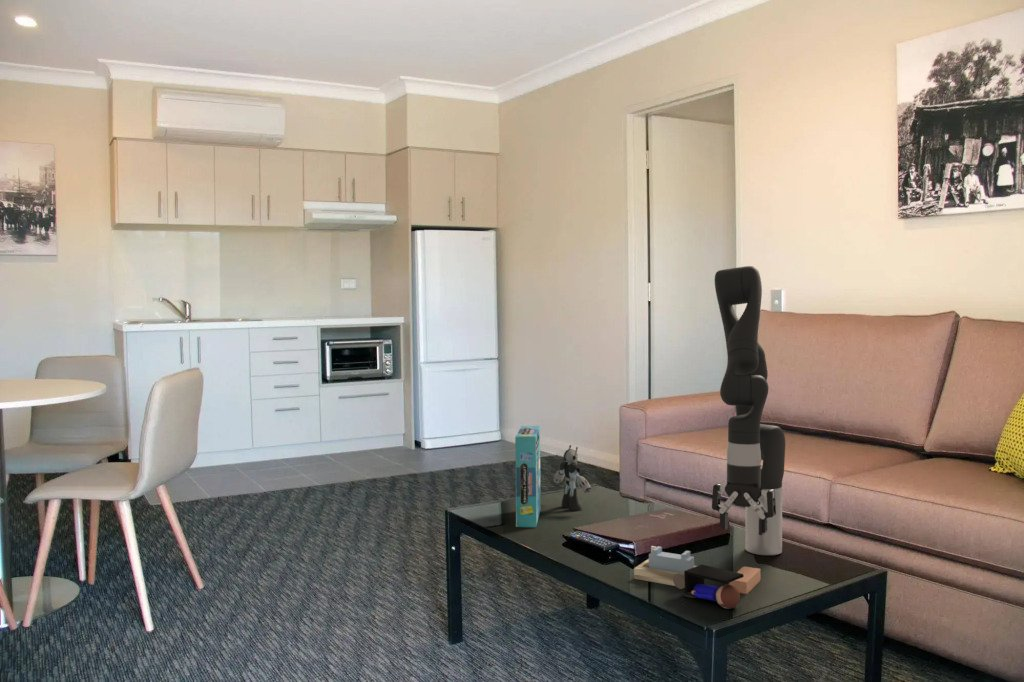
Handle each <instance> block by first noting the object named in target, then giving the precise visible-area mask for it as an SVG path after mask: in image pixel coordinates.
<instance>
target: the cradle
mask: <svg viewBox="0 0 1024 682" xmlns="http://www.w3.org/2000/svg"><path fill="white" fill-rule="evenodd" d="M696 566H697V565H694V567H696ZM633 573H634V574H633V578H634V579H635V580H640V581H645V582H649V583H650V582H651V583H657V584H661V585H668V586H673V587H676V586H675V584H674V582H673V576H674V575H675V574H677V573H676V572H670V571H664V570H658V569H652V568H649V558H647V559H646V560H644V561H642V562H641V563H640V564H638V565H637V566H635V567H634V568H633Z"/></svg>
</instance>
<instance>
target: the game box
mask: <svg viewBox="0 0 1024 682" xmlns="http://www.w3.org/2000/svg"><path fill="white" fill-rule="evenodd" d="M540 427H541V426H539V425H522V426H520V428H519V430H518V432H517V434H515V435H516V436H515V439H514V440H515V445H514V446H515V447H514V448H515V527H516V528H537V525H538V522H539V518H540V513H541V511H542V509H541V508H542V504H541V503H542V501H541V500H542V499H541V498H542V495H541V494H542V493H541V489H542V488H541V487H542V486H541V485H542V483H541V428H540Z"/></svg>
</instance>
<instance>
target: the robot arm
mask: <svg viewBox="0 0 1024 682" xmlns="http://www.w3.org/2000/svg"><path fill="white" fill-rule="evenodd" d="M762 287H763V286H762V280H761V275H760V271H759V269H758V268H757V266H754V265H749V266H748V265H747V266H739V267H733V268H731V267H730V268H725V269H720V270H717V271H716V272H715V275H714V288H715V294H716V299H717V304H718V308H719V313H720V317H721V322H722V326H723V332H724V337H725V338H724V339H725V344H726V351H727V353H726V354H727V362H726V363H727V364H726V369H725V373H724V376H723V378H722V382H721V385H720V389H719V392H720V395H719V396H720V397H721V400H722V402H723V403H724V404H726V405H728V406H734V407H735V413H736V414H735V416H731V417H730V418H729V420H728V425H727V426H728V427H727V431H728V432H727V434H728V435H727V449H726V485H725V484H722V483H720V482H718V483H715V484H713V485H712V499H711V509H712V510H713V511H717V512H718V513H719V526H720V527H721V529H722V531H723V530H724V531H725V530H728V528H729V512H728V510H729V509H730V508H731V507H732V506H734V505H735V506H737V507H740V506H743V507H745V536H744V537H745V539H744V540H745V542H744V543H745V551H746V552H748V553H750V554H753V555H759V556H776V555H779V554H782V552H783V479H784V474H785V461H786V459H785V457H786V436H785V433H784V431H783V429H782V428H781V427H780V426H777V425H771V424H764V423H761V421H762V415H763V411H764V408H765V405H766V402H767V398H768V395H769V390H770V389H769V385H768V381H767V380H768V376H769V375H768V367H767V366H768V365H767V359H766V353H765V350H764V349H763V347H762V345H761V344H760V343H759V340H758V339H759V336H758V335H759V327H760V326H759V325H760V317H761V305H762V294H763V290H762ZM744 304H746V307H745V309H744V311H743V312H742V314H741V316H740V317H739V318H738V316H737V314H736V312H735V309H734V307H733V306H737V305H744ZM724 491H725V493H726V494H727V497H728V498H727V499H726V501H725V502H724V503H723V505H721V500H722V494H723V493H724Z"/></svg>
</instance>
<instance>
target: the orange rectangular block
mask: <svg viewBox="0 0 1024 682" xmlns="http://www.w3.org/2000/svg"><path fill="white" fill-rule="evenodd" d="M736 573H740V574H743V576H744V577H742V578H740V579H737V580H735V581H732V582H730V583H728V585H732V586H734V587H735V588H736V589H737V590H738V591H739V594H744V595H748V594H749V592H751V590H753V589H754V587H755V586H757V585H758V583H760V582H761V580H762V579H761V568H758V567H750V566H745V565H744V566H742V567H741V568H740V569H738V570H737V572H736Z"/></svg>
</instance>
